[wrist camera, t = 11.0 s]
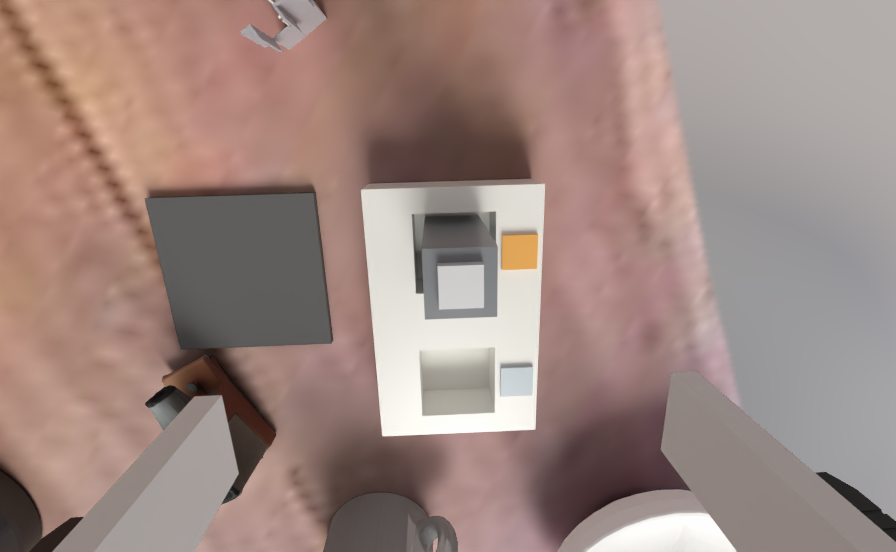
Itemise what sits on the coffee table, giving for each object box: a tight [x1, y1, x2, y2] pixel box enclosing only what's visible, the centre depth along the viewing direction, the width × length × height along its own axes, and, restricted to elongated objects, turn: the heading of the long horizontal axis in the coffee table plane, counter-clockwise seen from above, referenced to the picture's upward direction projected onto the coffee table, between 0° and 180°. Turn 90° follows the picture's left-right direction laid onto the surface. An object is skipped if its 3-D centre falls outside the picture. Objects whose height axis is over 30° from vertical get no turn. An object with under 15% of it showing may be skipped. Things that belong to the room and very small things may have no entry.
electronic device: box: [145, 355, 276, 505], centre depth 33 cm, size 4×10×8 cm, turn 29°
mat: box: [145, 192, 333, 349], centre depth 33 cm, size 12×12×1 cm
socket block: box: [361, 179, 545, 436], centre depth 33 cm, size 12×19×4 cm, turn 1°
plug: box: [422, 215, 498, 320], centre depth 28 cm, size 4×4×11 cm
